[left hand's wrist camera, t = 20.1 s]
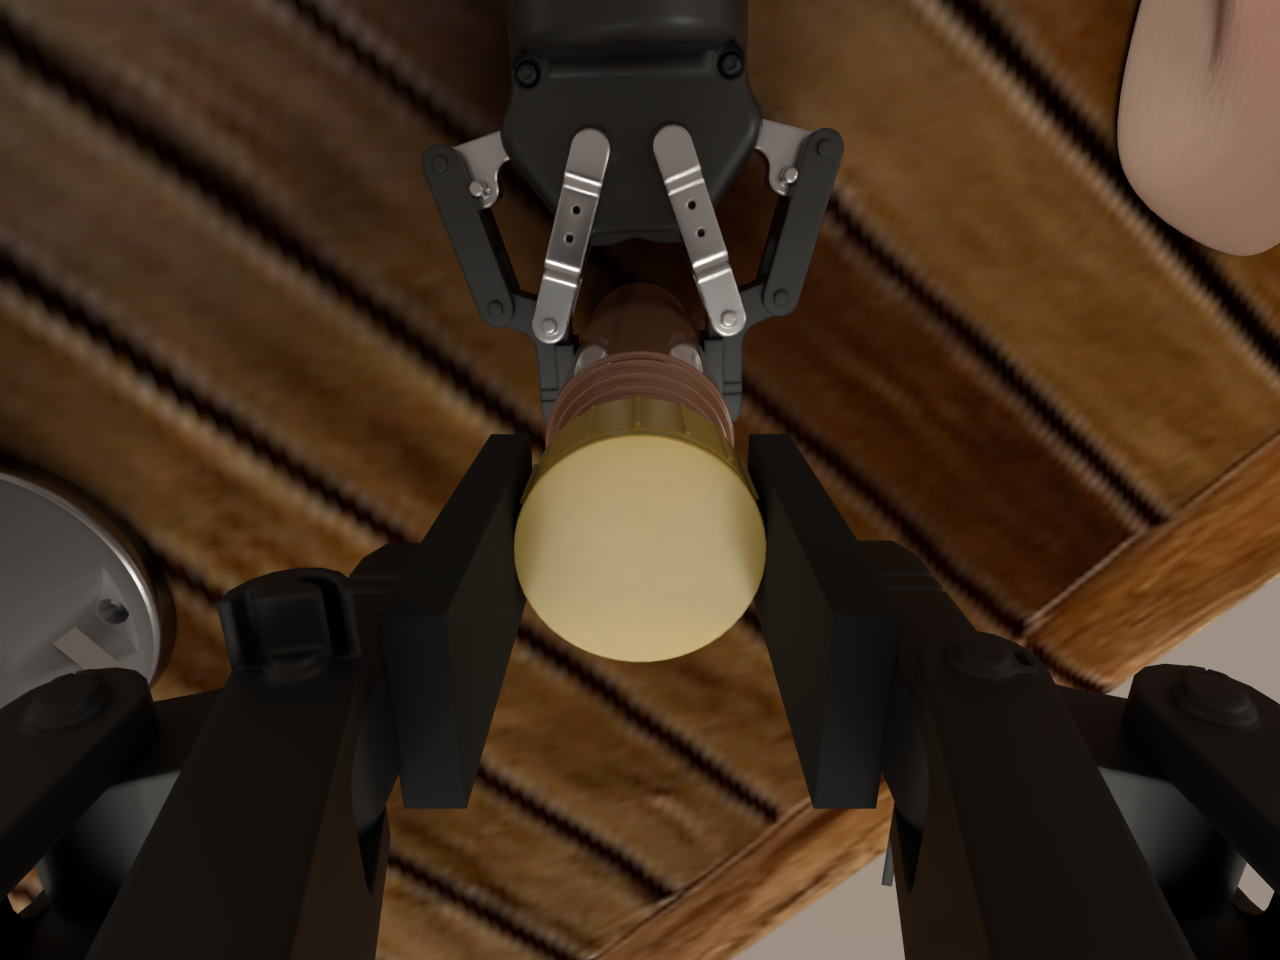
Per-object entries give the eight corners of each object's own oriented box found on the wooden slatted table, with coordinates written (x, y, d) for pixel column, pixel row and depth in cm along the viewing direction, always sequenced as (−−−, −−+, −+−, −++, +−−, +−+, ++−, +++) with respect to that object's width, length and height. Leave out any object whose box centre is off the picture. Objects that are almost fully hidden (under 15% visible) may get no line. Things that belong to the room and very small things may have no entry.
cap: (792, 470, 14) (821, 520, 12) (670, 630, 15) (675, 702, 13) (604, 352, 13) (597, 381, 11) (492, 530, 14) (465, 590, 12)
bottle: (624, 261, 31) (597, 357, 12) (711, 320, 32) (824, 501, 12) (569, 350, 33) (462, 572, 13) (654, 404, 33) (675, 689, 14)
